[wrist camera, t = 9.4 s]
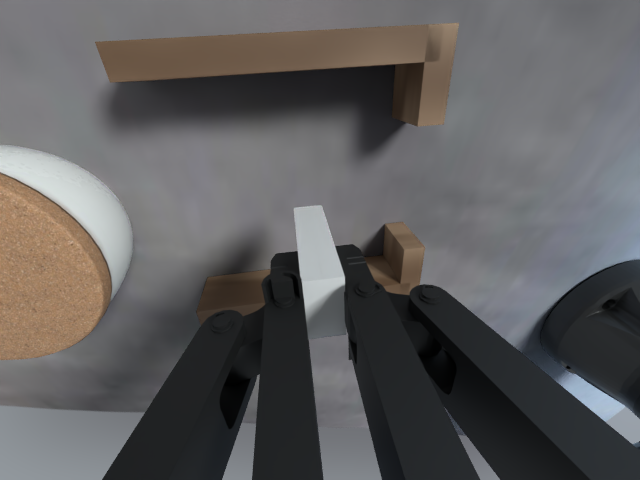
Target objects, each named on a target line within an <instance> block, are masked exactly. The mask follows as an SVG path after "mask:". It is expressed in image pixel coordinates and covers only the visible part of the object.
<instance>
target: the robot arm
mask: <svg viewBox="0 0 640 480" xmlns="http://www.w3.org/2000/svg"><path fill="white" fill-rule="evenodd" d="M294 216H295V227H296V238H297V248H298V251H295V252H286V253H277V254H275V256H274V257H273V258H272V260H271V270H270V274H269V275H267V276H266V277H265V278H264V279H263V281H262V284H261V286H262V291H263V296H264V301H265V305H264V306H263V307H262V308H260V309H259V310H257V311H255V312H253V313H250V314H248V315H245V316H242V314H240V313H239V312H238V311H234V310H223V311H220V312H217V313H214V314H213V315H211V316H210V317H208V318H207V319H206V320H205V321H204V323H203V324H202V325H201V327H200V328H199V330H198V331H197V333H196V335H195V336H194V338H193V339H192V341H191V342H190V344H189V345H188V347H187V349H186V350H185V352H184V353H183V355H182V356H181V358H180V359H179V361H178V363H177V364H176V366H175V367H174V369H173V370H172V372H171V373H170V375H169V377H168V378H167V380H166V381H165V383H164V384H163V386H162V387H161V389H160V390H159V392H158V394H157V395H156V397H155V398H154V400H153V401H152V403H151V404H150V406H149V408H148V409H147V411H146V412H145V414H144V416H143V417H142V418H141V420H140V422H139V423H138V425H137V426H136V428H135V430H134V431H133V433H132V434H131V436H130V437H129V439H128V440H127V442H126V443H125V445H124V447H123V448H122V450H121V451H120V453H119V454H118V456H117V457H116V459H115V460H114V462H113V464H112V465H111V467H110V468H109V470H108V471H107V473H106V474H105V476H104V478H103V479H102V480H222V478H223V475H224V472H225V469H226V466H227V463H228V460H229V457H230V455H231V451H232V449H233V446H234V443H235V440H236V437H237V434H238V431H239V428H240V425H241V423H242V420H243V417H244V414H245V411H246V408H247V405H248V402H249V399H250V396H251V394H252V391H253V388H254V385H255V382H256V379H257V375H259V374H260V380H259V393H258V407H257V420H256V434H255V448H254V461H253V476H252V480H323V472H322V462H321V453H320V444H319V434H318V424H317V415H316V406H315V396H314V387H313V378H312V368H311V359H310V350H309V341H308V339H316V338H323V337H331V336H338V335H346V328H347V332H348V339H349V360H352V361H353V365H354V369H355V373H356V377H357V381H358V385H359V389H360V393H361V397H362V401H363V405H364V409H365V413H366V417H367V421H368V425H369V429H370V433H371V437H372V441H373V445H374V449H375V453H376V457H377V461H378V465H379V468H380V473H381V477H382V480H480V478H479V476H478V474H477V472H476V470H475V469H474V466H473V464H472V462H471V460H470V458H469V456H468V454H467V452H466V450H465V448H464V446H463V444H462V442H461V440H460V438H459V436H458V434H457V432H456V430H455V428H454V426H453V424H452V422H451V420H450V418H449V416H448V414H447V412H446V410H445V408H446V409H447V411H448V412H449V413H450V415H451V416H452V417H453V419H454V420H455V421H456V422H457V424H458V425H459V426H460V428H461V429H462V430H463V432H464V433H465V434H466V436H467V437H468V438H469V439H470V441H471V442H472V443H473V444H474V446H475V447H476V449H477V450H478V451H479V452H480V454H481V455H482V456H483V458H484V459H485V460H486V462H487V463H488V464H489V465H490V467H491V468H492V469H493V471H494V472H495V473H496V475H497V476H498V477H499V478H500V480H640V441H639V442H637V443H635V444H631V443H630V442H629V441H628V440H626V439H625V438H624V437H623V436H622V435H620V434H619V433H618V432H617V431H615V430H614V429H613V428H612V427H611V426H609V425H608V424H607V423H606V422H605V421H603V420H602V419H601V418H600V417H598V416H597V415H596V414H595V413H594V412H592V411H591V410H590V409H589V408H587V407H586V406H585V405H584V404H583V403H581V402H580V401H579V400H578V399H577V398H575V397H574V396H573V395H572V394H570V393H569V392H568V391H567V390H566V389H564V388H563V387H562V386H561V385H559V384H558V383H557V382H556V381H555V380H553V379H552V378H551V377H550V376H549V375H547V374H546V373H545V372H544V371H542V370H541V369H540V368H539V367H538V366H536V365H535V364H534V363H533V362H531V361H530V360H529V359H528V358H527V357H525V356H524V355H523V354H522V353H521V352H519V351H518V350H517V349H516V348H514V347H513V346H512V345H511V344H510V343H508V342H507V341H506V340H505V339H503V338H502V337H501V336H500V335H499V334H497V333H496V332H495V331H494V330H493V329H491V328H490V327H489V326H488V325H486V324H485V323H484V322H483V321H482V320H480V319H479V318H478V317H477V316H475V315H474V314H473V313H472V312H471V311H469V310H468V309H467V308H466V307H465V306H463V305H462V304H461V303H460V302H458V301H457V300H456V299H455V298H454V297H452V296H451V295H450V294H449V293H447V292H446V291H445V290H443V289H441V288H440V287H436V286H433V285H425V284H424V285H417V286H416V287H414V288H412V289H411V291H410V293H409V295H404V294H395V293H391V292H388V291H386V290H385V288H384V287H383V286H382V285H381V284H380V283H378V282H376V281H375V280H374V278H373V276H372V274H371V272H370V269H369V267H368V265H367V263H366V261H365V259H364V257H363V255H362V253H361V250H360V249H359V248H357V247H356V246H355V245H353V244H351V245H342V246H335V245H334V242H333V239H332V236H331V233H330V230H329V227H328V223H327V220H326V217H325V214H324V211H323V208H322V205H318V206H308V207H298V208H294ZM541 344H542V347H543V348H544V350H545V351H546V352H547V353H548V354H549V355H550V356H551V357H552V358H553V359H554V360H555V361H556V362H557V363H558V364H559V365H560V366H561V367H563V368H564V369H566V370H567V371H569V372H571V373H574V374H577V375H578V376H580V377H581V378H582V379H584V380H585V381H587V382H588V383H590V384H591V385H593V386H594V387H596V388H597V389H599V390H601V391H602V392H604V393H606V394H607V395H609V396H611V397H612V398H614V399H615V400H617V401H619V402H620V403H622V404H623V405H625V406H626V407H627V408H629V409H630V410H631V411H632V412H633V413H634V414H635V415H636V416H637V417H638V418H639V419H640V260H634V261H629V262H625V263H622V264H619V265H616V266H614V267H611V268H609V269H607V270H604V271H602V272H600V273H598V274H597V275H595V276H593V277H591V278H590V279H588V280H587V281H585V282H583V283H582V284H581V285H579V286H578V287H577V288H575V289H574V290H573V291H572V292H570V293H569V294H568V295H567V296H566V297H565V298H564V299H563V300H562V301H561V302H560V303H559V304H558V305H557V306H556V307H555V308H554V310H553V311H552V312H551V314H550V315H549V317H548V318H547V320H546V322H545V324H544V326H543V329H542V333H541ZM444 407H445V408H444Z"/></svg>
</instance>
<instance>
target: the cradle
mask: <svg viewBox="0 0 640 480" xmlns="http://www.w3.org/2000/svg"><path fill="white" fill-rule="evenodd" d="M458 26H459V23H447V24H428V25H408V26H389V27H370V28H351V29H332V30H313V31H294V32H275V33H256V34H237V35H218V36H199V37H179V38H160V39H141V40H122V41H103V42H95V43H96V46H97V49H98V51H99V54H100V57H101V59H102V62H103V65H104V67H105V70H106V73H107V75H108V78H109V81H110V82H134V81H154V80H169V79H185V78H200V77H215V76H231V75H246V74H261V73H277V72H292V71H307V70H323V69H338V68H354V67H369V66H384V65H395V77H394V92H393V107H392V118H395V119H398V120H401V121H404V122H406V123H409V124H412V125H415V126H429V125H440V124H444V119H445V112H446V106H447V99H448V92H449V86H450V79H451V72H452V66H453V59H454V53H455V46H456V39H457V33H458ZM424 251H425V246H424V245H423V244H422V243H421V242H420V241H419V240H418V239H417V237H416V236H415V235H414V234H413V233H412V232H411V231H410V229H409V228H408V227H407V226H406V225H405V224H404V223H403V222H397V223H389V224H385V231H384V247H383V255H379V256H371V257H364V259H365V261H366V263H367V265H368V267H369V269H370V272H371V274H372V276H373V278H374V280H375V281H376V282H378V283H380V284H381V285H382V286H383V287H384V288H385V290H386V291H388V292H391V293H395V294H404V295H409V293H410V291H411V289H412V288H414V287H416V286H417V285H419V284H420V278H421V271H422V265H423V258H424ZM270 270H271V269H268V270H261V271H253V272H245V273H237V274H229V275H221V276H213V277H208V278H207V281H206V284H205V287H204V290H203V293H202V296H201V299H200V302H199V305H198V308H197V311H196V313H197V316H198V318H199V321H200V324H201V325H202V324H203V323H204V321H205V320H206V319H207V318H208V317H210V316H211V315H213V314H214V313H217V312H220V311H223V310H234V311H238V312H239V313H240V314H242V316H245V315H248V314H250V313H253V312H255V311H257V310H259V309H260V308H262V307H263V306H264V305H265V301H264V296H263V291H262V286H261V284H262V281H263V279H264V278H265V277H266V276H267V275H269V274H270Z"/></svg>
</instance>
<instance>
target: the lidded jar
mask: <svg viewBox="0 0 640 480" xmlns="http://www.w3.org/2000/svg"><path fill="white" fill-rule="evenodd" d="M132 253H133V231H132V227H131V223H130V220H129V218H128V215H127V213H126V211H125V209H124V207H123V206H122V204H121V202H120V201H119V199H118V198H117V197H116V196H115V194H114V193H113V192H112V191H111V190H110V189H109V188H108V187H107V186H106V185H105V184H104V183H103V182H102V181H101V180H99V179H98V178H97V177H95V176H94V175H93V174H91V173H90V172H88V171H87V170H85V169H83V168H82V167H80V166H78V165H76V164H74V163H72V162H70V161H68V160H65V159H63V158H61V157H59V156H56V155H53V154H50V153H47V152H43V151H39V150H34V149H29V148H24V147H19V146H14V145H1V144H0V360H15V359H27V358H36V357H41V356H45V355H49V354H53V353H56V352H58V351H61V350H64V349H66V348H69V347H71V346H73V345H74V344H76V343H78V342H80V341H81V340H83V339H84V338H85V337H86V336H87V335H88V334H90V333H91V332H92V330H93V329H94V328H95V326H96V325H97V324H98V322H99V321H100V320H101V318H102V317H103V316H104V314H105V312H106V310H107V308H108V305H109V303H110V302H111V300H112V299H113V298H114V296H115V294H116V293H117V291H118V290H119V288H120V286H121V284H122V282H123V280H124V278H125V276H126V273H127V271H128V269H129V266H130V262H131V258H132Z"/></svg>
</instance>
